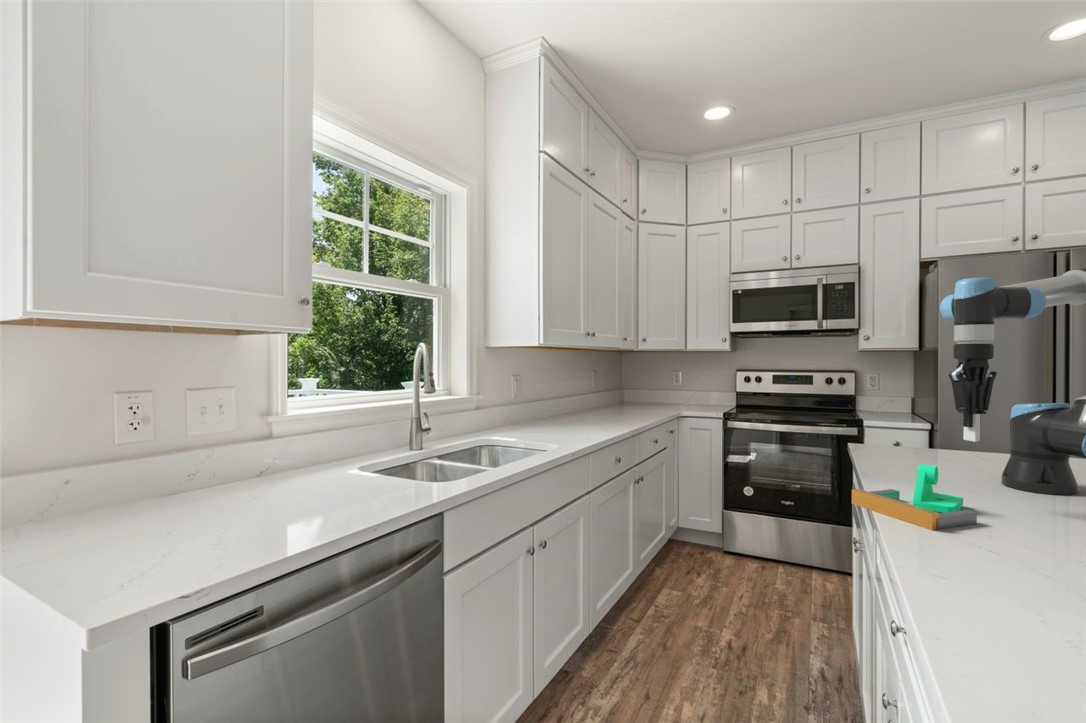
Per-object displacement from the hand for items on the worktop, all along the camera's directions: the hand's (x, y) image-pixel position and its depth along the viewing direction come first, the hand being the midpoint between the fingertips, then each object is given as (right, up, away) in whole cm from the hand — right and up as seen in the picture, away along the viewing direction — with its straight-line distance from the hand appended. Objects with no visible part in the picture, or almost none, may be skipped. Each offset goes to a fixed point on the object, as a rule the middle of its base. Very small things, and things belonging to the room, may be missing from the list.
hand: (971, 440), depth 128 cm
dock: (-18, -16, -5) cm, 25 cm away
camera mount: (-10, -16, -2) cm, 19 cm away
